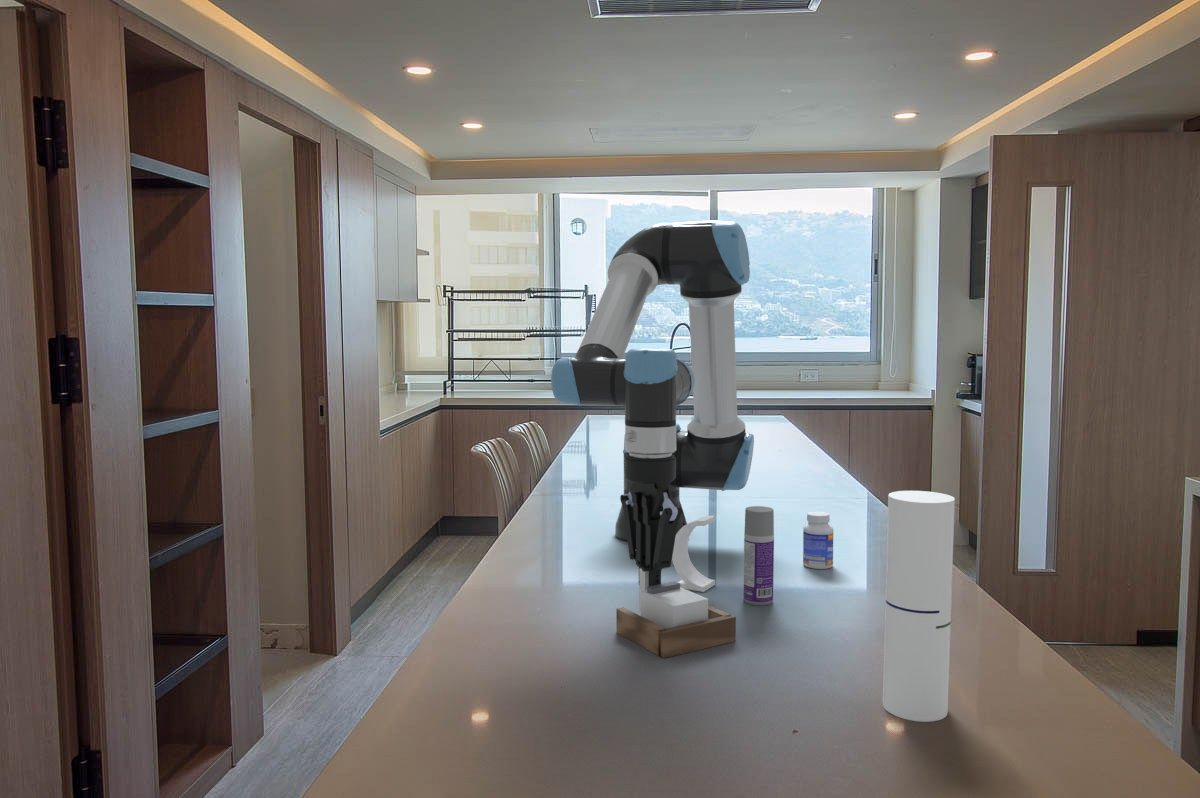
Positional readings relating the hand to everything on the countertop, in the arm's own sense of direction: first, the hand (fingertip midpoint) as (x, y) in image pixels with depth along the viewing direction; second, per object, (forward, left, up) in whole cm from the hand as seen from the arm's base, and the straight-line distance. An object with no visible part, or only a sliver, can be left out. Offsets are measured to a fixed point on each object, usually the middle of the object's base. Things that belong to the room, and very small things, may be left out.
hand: (649, 610), depth 133 cm
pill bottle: (-10, +44, -2) cm, 45 cm away
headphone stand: (-12, +17, -2) cm, 21 cm away
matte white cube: (+6, 0, -2) cm, 6 cm away
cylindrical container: (+40, +10, -2) cm, 41 cm away
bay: (+6, 0, -2) cm, 6 cm away
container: (0, +21, -2) cm, 21 cm away
